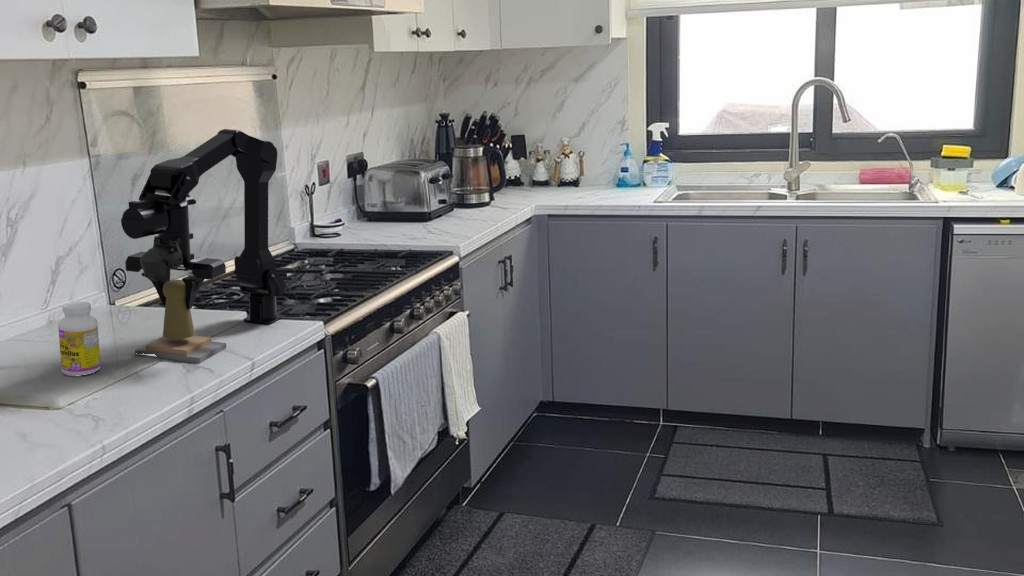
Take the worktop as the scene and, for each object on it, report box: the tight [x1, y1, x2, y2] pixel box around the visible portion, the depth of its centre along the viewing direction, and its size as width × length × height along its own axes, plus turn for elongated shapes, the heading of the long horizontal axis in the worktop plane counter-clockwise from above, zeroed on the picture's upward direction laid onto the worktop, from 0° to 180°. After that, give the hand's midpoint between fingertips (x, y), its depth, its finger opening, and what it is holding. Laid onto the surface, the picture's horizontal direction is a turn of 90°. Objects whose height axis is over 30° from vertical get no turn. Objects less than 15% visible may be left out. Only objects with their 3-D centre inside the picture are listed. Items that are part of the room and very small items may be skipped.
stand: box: [134, 335, 227, 364], centre depth 195 cm, size 10×14×2 cm
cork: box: [162, 279, 196, 339], centre depth 193 cm, size 6×6×11 cm
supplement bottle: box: [57, 301, 101, 377], centre depth 180 cm, size 7×7×13 cm
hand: (177, 307), depth 193 cm, fingers closed on cork, 5 cm apart
